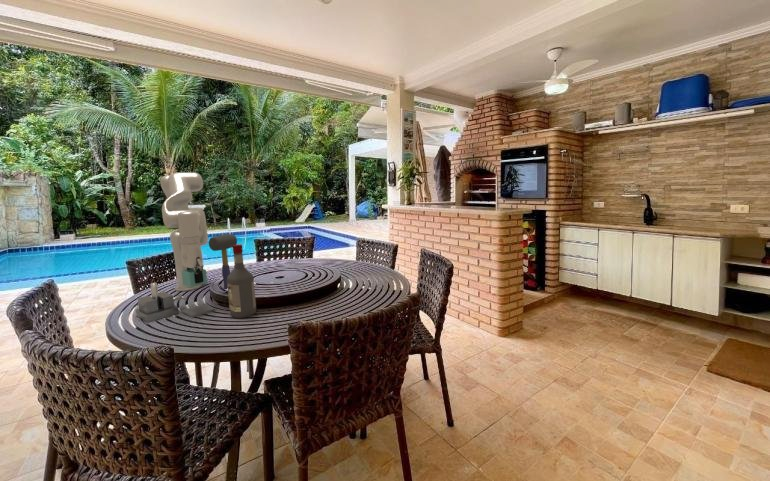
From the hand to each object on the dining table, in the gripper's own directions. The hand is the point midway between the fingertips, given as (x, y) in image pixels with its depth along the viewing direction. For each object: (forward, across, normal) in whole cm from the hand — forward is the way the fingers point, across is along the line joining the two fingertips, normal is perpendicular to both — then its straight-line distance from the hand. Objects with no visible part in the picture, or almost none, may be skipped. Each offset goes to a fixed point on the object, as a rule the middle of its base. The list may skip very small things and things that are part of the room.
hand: (195, 280), depth 152 cm
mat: (+14, 0, 0) cm, 14 cm away
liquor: (+14, +19, +10) cm, 26 cm away
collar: (+1, 0, 0) cm, 1 cm away
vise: (+14, -11, -10) cm, 20 cm away
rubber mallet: (+14, -15, +22) cm, 30 cm away
